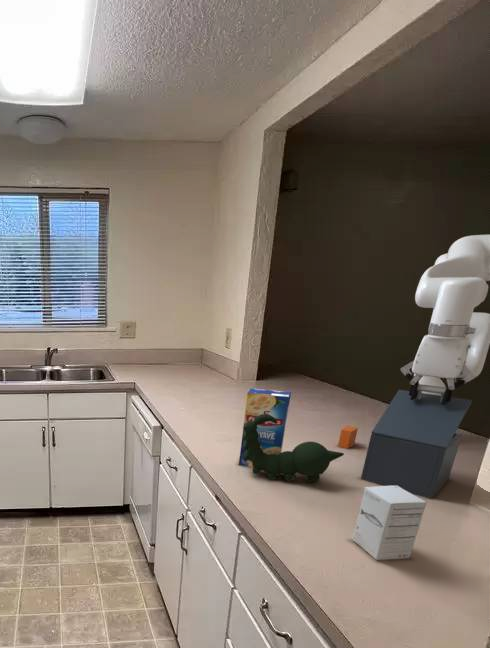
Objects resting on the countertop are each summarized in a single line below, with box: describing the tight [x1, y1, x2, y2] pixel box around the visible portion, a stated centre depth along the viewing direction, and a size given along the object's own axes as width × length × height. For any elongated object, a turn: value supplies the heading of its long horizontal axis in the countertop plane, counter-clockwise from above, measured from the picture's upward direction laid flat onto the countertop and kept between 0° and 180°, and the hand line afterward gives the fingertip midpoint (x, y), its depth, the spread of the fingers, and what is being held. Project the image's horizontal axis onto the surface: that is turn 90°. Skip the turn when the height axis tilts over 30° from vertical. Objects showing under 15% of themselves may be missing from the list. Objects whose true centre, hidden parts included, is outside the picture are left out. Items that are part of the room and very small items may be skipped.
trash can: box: [360, 432, 463, 499], centre depth 118 cm, size 18×16×13 cm
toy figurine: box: [242, 414, 345, 484], centre depth 118 cm, size 9×19×25 cm
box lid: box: [371, 384, 472, 450], centre depth 112 cm, size 19×16×5 cm
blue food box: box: [238, 387, 292, 468], centre depth 127 cm, size 7×11×22 cm, turn 62°
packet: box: [337, 425, 359, 449], centre depth 144 cm, size 6×3×6 cm, turn 131°
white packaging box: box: [351, 485, 427, 561], centre depth 86 cm, size 7×7×13 cm
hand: (428, 400), depth 114 cm, fingers closed on box lid, 6 cm apart
